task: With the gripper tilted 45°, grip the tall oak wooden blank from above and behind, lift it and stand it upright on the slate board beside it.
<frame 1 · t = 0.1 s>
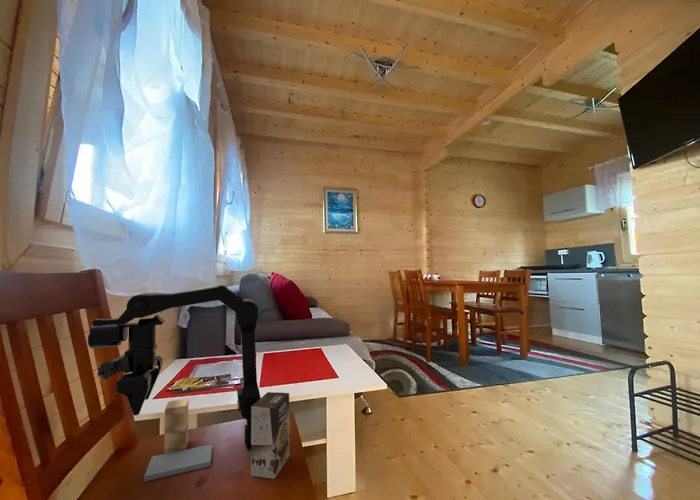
hand: (141, 406, 78), 15 cm above the table, tool pointing down, fingers open, 9 cm apart
slate board: (180, 463, 78), on the table
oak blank: (176, 448, 85), on the table
coffee box: (271, 466, 77), on the table
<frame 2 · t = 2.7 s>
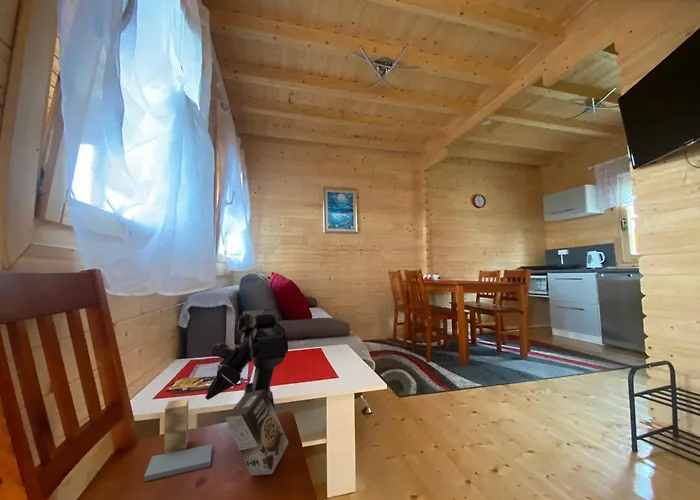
hand: (207, 395, 88), 13 cm above the table, tool tilted 45°, fingers open, 9 cm apart
coffee box: (271, 459, 77), point 2 cm above the table, touching arm
everything else where it was.
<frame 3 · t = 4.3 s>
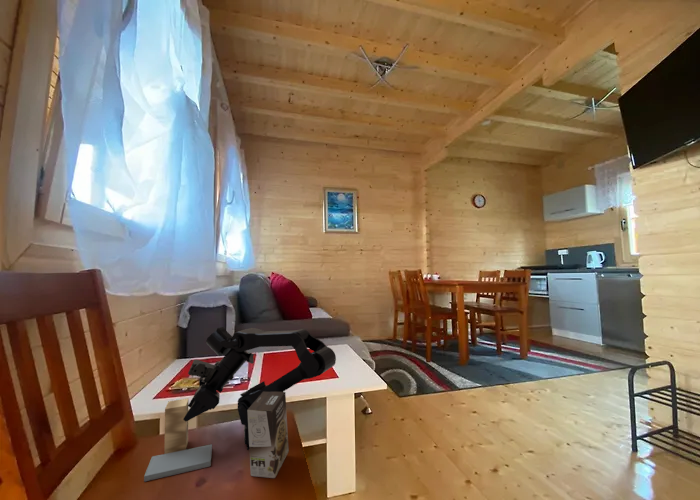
hand: (187, 413, 86), 9 cm above the table, tool tilted 45°, fingers open, 9 cm apart
coffee box: (270, 464, 77), on the table
everything else where it was.
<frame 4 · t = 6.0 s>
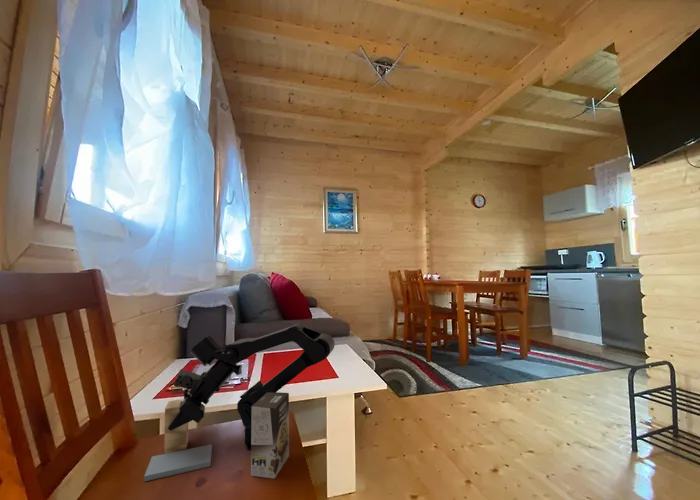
hand: (171, 424, 84), 7 cm above the table, tool tilted 45°, fingers closed on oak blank, 5 cm apart
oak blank: (176, 448, 85), on the table, touching gripper
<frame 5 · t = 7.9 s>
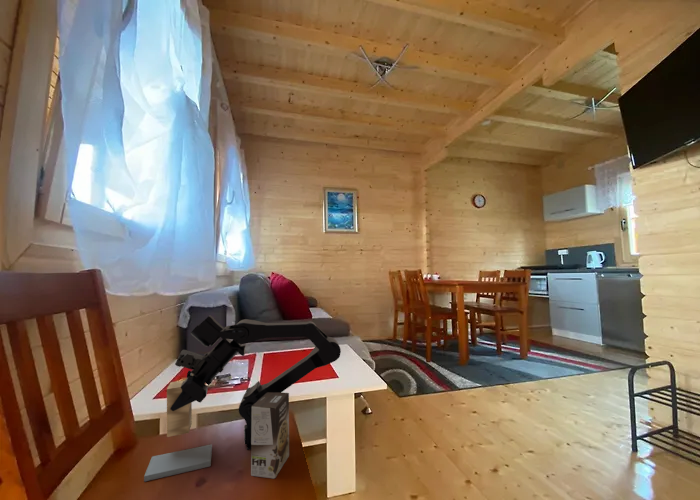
hand: (173, 405, 82), 13 cm above the table, tool tilted 45°, fingers closed on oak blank, 5 cm apart
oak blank: (179, 430, 82), point 6 cm above the table, touching gripper
when the fingers open (9 cm above the table, at t = 10.0 s): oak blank drops 1 cm, resting on slate board.
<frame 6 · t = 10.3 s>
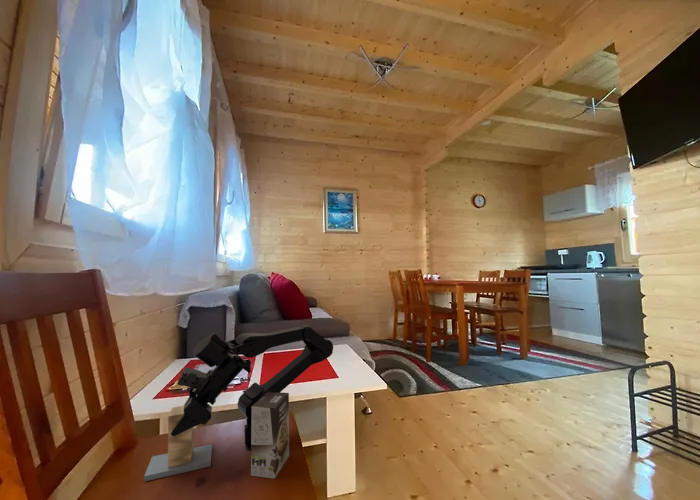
hand: (174, 426, 78), 9 cm above the table, tool tilted 45°, fingers open, 8 cm apart
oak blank: (181, 458, 78), point 1 cm above the table, touching slate board
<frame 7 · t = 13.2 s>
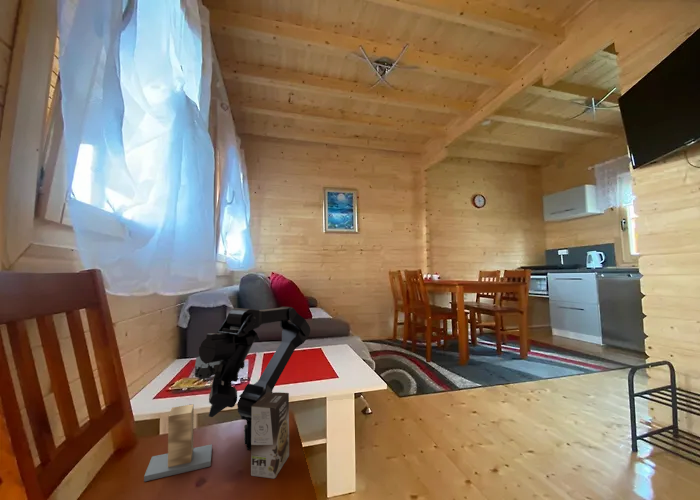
hand: (211, 403, 84), 12 cm above the table, tool tilted 30°, fingers open, 9 cm apart
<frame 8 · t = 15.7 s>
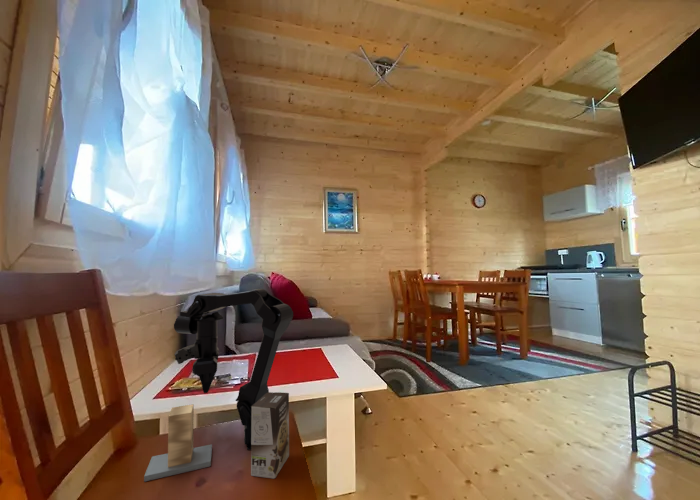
hand: (206, 387, 94), 13 cm above the table, tool pointing down, fingers open, 9 cm apart
at the end: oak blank 0.0 cm off-centre on the slate board, point 1.2 cm above the slate board's base; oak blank tilted 0°; the gripper is holding nothing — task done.
